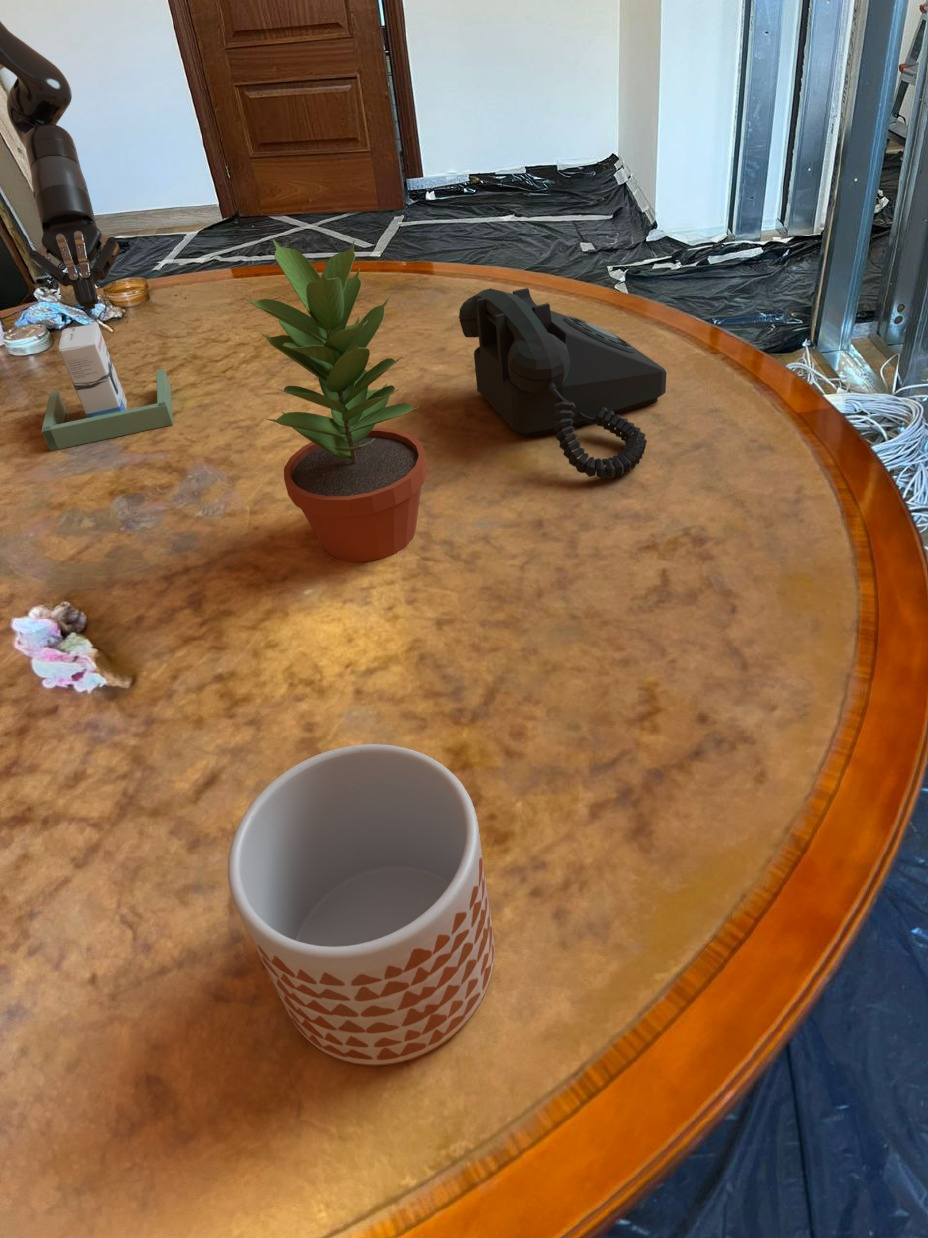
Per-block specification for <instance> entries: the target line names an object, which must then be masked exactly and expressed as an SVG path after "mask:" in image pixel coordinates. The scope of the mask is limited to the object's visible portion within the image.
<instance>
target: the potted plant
mask: <svg viewBox="0 0 928 1238" xmlns="http://www.w3.org/2000/svg"><path fill="white" fill-rule="evenodd" d="M271 240H272V242H273V245H274V248H275V251H274V253H273V254H274V259H275V261H276V263H277V265H278V266H279V267H280V269H281V271H282V272H283V274H284V276H285V277H286V279H287V280H288V282H289V284H290V285H291V287H292V288H293V290H294V292H295V293H296V295H297V296H298V298H299V300H300V302H301V303H302V305H303V306H304V308H305V309H306V312H307V313H308V314H307V313H305V312H303V311H301V310H299V309H298V308H296V307H295V306H291V305H290V304H288V303H284V302H282V301H279V300H275V299H271V298H262V299H259V300H255V301H254V300H251V299H248V298H247V297H243V299H244V300H246V301H247V302H249V303H250V304H252V305H253V306H254V307H256V308H258V309H259V310H261V311H263V312H265V313H267V314H269V315H270V316H271V317H274V318H276V319H278V323H279V325H280V327H281V328H282V329H283V330H284V331H285V333H286V334H287V335H286V334H281V335H276V336H271V337H270V336H268V335H267V334H265V333H262V332H259V334H261V335H262V336H263V337H264V338H265V339H266V340H267V341H268V343H269V345H271V346H272V347H274V348H275V349H277V350H278V351H280V353H282V354H283V355H285V356H286V357H288V358H289V359H291V360H292V361H294V362H295V363H296V364H297V365H299V366H301V367H302V368H304V369H305V370H307V371H308V372H309V373H311V374H312V375H314V376H315V377H317V379H318V383H319V386H320V390H321V392H322V393H320V392H317V391H314V390H312V389H309V388H306V387H302V386H298V385H287V386H285V387H284V388H283V390H282V389H279V388H276V390H278V391H280V392H282V393H286V394H289V395H291V396H294V397H297V398H299V399H302V400H304V401H308V402H311V403H313V404H316V405H319V406H321V407H324V408H326V409H329V410H330V413H331V416H332V417H329V416H326V415H322V414H317V413H311V412H307V411H306V412H305V411H290V412H289V411H288V412H283V411H281V413H282V414H281V415H280V416H279V417H278V418H277V419H275V418H274V419H273V418H266V420H268V421H271V422H274V423H276V424H279V425H281V426H285V427H289V428H292V429H293V430H295V432H297V433H298V434H300V435H301V436H303V437H304V438H306V439H307V440H309V441H310V442H309V443H307V444H305V445H303V446H301V447H300V448H299V449H298V450H297V451H295V453H293V454H292V455H291V456H290V457H289V459H288V460H287V462H286V464H285V466H284V467H283V481H284V484H285V488H286V492H287V495H288V497H289V499H290V501H291V502H292V503H293V504H294V505H295V506H296V507H297V508H299V509H300V510H301V512H302V513H303V515H304V517H305V518H306V520H307V521H308V523H309V524H310V527H311V528H312V530H313V531H314V533H315V535H316V536H317V538H318V540H319V542H320V544H321V545H322V547H323V548H324V550H325V551H326V552H327V554H328V555H331V556H332V557H334V558H336V559H338V560H341V561H346V562H350V563H352V562H353V563H354V562H355V563H366V562H367V563H368V562H372V561H377V560H378V561H379V560H381V559H384V558H387V557H390V556H393V555H395V554H397V553H398V552H400V551H402V550H403V549H404V548H406V547H407V546H408V545H409V544H410V543H411V541H413V539H414V536H415V534H416V529H417V523H418V516H419V509H420V508H419V507H420V501H421V494H422V488H423V487H422V486H423V485H424V484H425V481H426V478H427V476H428V473H429V471H428V464H427V456H426V453H425V449H424V445H423V443H422V442H420V440H418V439H417V438H416V437H415V436H414V435H412V434H409V433H406V432H404V431H401V430H399V429H393V428H387V427H386V428H385V427H375V426H376V425H377V424H380V423H383V422H386V421H389V420H392V419H394V418H399V417H400V416H401V417H402V416H403V415H407V414H408V413H410V412H413V411H415V410H417V409H420V408H421V406H417V407H413V406H412V405H411V404H410V403H408V402H400V403H395V404H391V405H389V406H388V403H389V401H390V399H391V395H393V394H395V393H396V392H397V391H399V390H400V389H398V388H397V389H396V386H394V385H393V384H391V385H388V381H387V382H386V383H385V384H384V385H383V386H382V387H381V388H377V389H371V390H369V386H370V385H372V384H373V383H374V382H375V381H376V380H377V379H378V378H380V377H381V376H382V375H384V374H385V373H386V372H387V371H388V370H389V369H391V368H392V367H393V366H394V365H395V364H396V363H397V362H399V361H400V360H401V359H402V358H403V356H400V357H399V358H397V360H395V359H394V358H391V357H390V358H385V359H383V360H381V361H379V362H378V363H377V364H376V365H374V366H373V367H372V368H370V369H369V370H366V369H367V368H366V367H367V365H368V363H369V358H370V355H371V352H370V349H369V348H367V347H368V345H369V344H370V342H371V341H372V339H373V338H374V337H375V335H376V333H377V331H378V330H379V328H380V326H381V324H382V323H383V320H384V318H385V312H386V305H387V304H388V302H389V300H390V299H391V296H389V297H388V298H387V299H386V300H385V301H384V302H383V304H381V305H377V306H374V307H373V308H372V309H370V310H369V311H368V312H367V314H366V315H365V316H364V317H363V318H362V319H361V320H360V315H358V316H357V319H356V320H355V322H354V323H353V324H350V325H348V322H349V320H350V317H351V315H352V311H353V309H354V306H355V304H356V301H357V299H358V296H359V293H360V291H361V288H362V281H361V279H360V270H361V268H360V267H359V269H358V270H357V272H356V273H355V274H354V276H353V277H350V274H351V271H352V267H353V265H354V262H355V259H356V253H355V251H354V250H355V249H354V248H355V242H356V241H355V239H354V240H353V242H352V243H351V245H350V247H349V249H348V250H344V251H340V252H338V253H336V254H334V255H332V256H331V257H330V258H329V259H328V261H327V263H326V264H325V266H324V269H323V272H321V276H320V274H319V273H318V271H317V269H316V268H315V266H314V265H313V264H312V263H311V261H310V260H309V259H308V258H307V257H306V256H305V255H304V254H303V253H302V252H301V251H299V250H297V249H295V248H291V247H283V246H280V245H279V244H278V242H277V241H275V239H274V238H273V237H271Z"/></svg>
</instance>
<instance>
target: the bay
mask: <svg viewBox="0 0 928 1238" xmlns="http://www.w3.org/2000/svg"><path fill="white" fill-rule="evenodd" d="M156 400H157V401H156V403H153V404H147V405H144V406H138V407H134V408H129V409H127V410H124V411H119V412H114V413H109V414H105V415H100V416H95V417H90V418H87V417H85V418H81V419H77V420H71V421H67V422H65V418H66V414H67V407H66V405H65V402H64V401H63V398H62V396H61V393H60V390H54V391H50V392H49V394H48V400H47V403H46V409H45V413H44V417H43V423H42V427H41V431H40V432H41V433H42V436H43V438H44V440H45V442H46V445H47V447H48V450H49V451H50V452H53V451H58V450H62V449H67V448H72V447H76V446H81V445H87V444H90V443H94V442H99V441H104V440H109V439H114V438H118V437H123V436H127V435H132V434H136V433H140V432H146V431H149V430H150V431H151V430H155V429H160V428H164V427H170V426H173V425H174V419H173V418H174V417H173V416H174V415H173V397H172V386H171V383H170V380H169V377H168V374H167V371H166V369H165V368H162V369H161V368H160V369H157V370H156Z"/></svg>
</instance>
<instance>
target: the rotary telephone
mask: <svg viewBox="0 0 928 1238" xmlns="http://www.w3.org/2000/svg"><path fill="white" fill-rule="evenodd" d="M530 292H531V291H530V288H528V287H525V288H521V289H516V290H513V291H512V293H511V292H506V291H503V290H498V289H495V288H486V289H483V290H481V291H479V292H478V293H476V294H474V295H473V296H471V297H468V298H467V299H466V300H465V301H464V302H462V305H461V306H460V307H459V311H458V313H459V315H458V320H459V324H460V327H461V331H462V334H463V336H464V337H465V338H471V339H473V338H478V347H477V348H476V349H474V350H473V356H474V357H473V359H474V370H475V381H476V390H477V392H478V393H479V394H480V395H481V396H482V397H483V399H484V400H486V401H487V403H488V404H489V405H490V406H491V407H492V408H493V409H494V410H495V411H496V413H497V414H499V416H500V417H501V418H502V419H503V420H504V421H505V422H506V424H508V425H509V426H510V427H511V428H512V430H514V431H515V432H516V433H517V434H518V435H520V436H523V437H538V436H543V435H548V434H549V435H550V434H554V433H556V435H555V440H557V441H558V442H559V446H558V447H559V448H560V449H561V450H562V451H563V456H564V457H565V458H566V459H568V464H569V465H571V466H572V467H573V468H575V469H576V471H577V472H578V473H581V474H585V475H586V476H588V478H591V477H595V476H596V477H597V478H599V479H603V478H605V477H607V478H609V479H613V478H614V477H615V476H616V477H622V476H623V475H624V473H630V472H631V469H636V465H637V464H640V461H641V459H642V458H643V455H644V454H645V450H646V446H647V439H645V437H646V433H644V432H642V431H641V427H637V426H635V423H634V422H629V420H628V419H627V418H622V416H621V414H622V413H625V412H628V411H631V410H635V409H638V408H641V407H644V406H648V405H651V404H654V403H657V402H658V401H659V400H658V399H659V398H660V397H661V396H664V394H666V391H667V390H666V388H667V370H666V368H664V367H663V366H661V365H660V364H658V363H657V362H655V361H654V360H653V359H651V358H650V357H648V355H645V354H644V353H643V352H641V351H640V350H638V349H637V348H635V347H634V346H633V345H632V344H630V343H629V342H628V341H626V340H625V339H623V338H621V337H620V336H619V335H617V334H614V333H613V332H610V331H608V330H607V329H605V328H603V327H600V326H598V325H596V324H594V323H591V322H588V321H586V320H583V319H582V318H581V319H580V318H577V317H575V316H571V315H565V314H561V313H559V312H557V311H554V310H551V304H550V303H549V302H547V303H541V304H536V303H535V302H534V300H533V298H532V296H531V293H530ZM586 424H596V426H598V427H602V428H603V429H604V430H607V431H609V433H610V434H614V435H615V437H616V438H620V440H621V441H624V444H625V445H624V446H623V449H621V450H620V452H619V453H617V455H613V457H608V458H602V459H601V458H599V457H596V458H595V457H594V456H591V457H590V454H589V453H588V452H585V451H586V449H585V448H584V447H581V445H582V442H581V441H579V440H578V439H577V438H578V434H577V433H575V430H576V427H580V426H583V425H586Z"/></svg>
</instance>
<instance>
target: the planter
mask: <svg viewBox="0 0 928 1238" xmlns="http://www.w3.org/2000/svg"><path fill="white" fill-rule="evenodd" d="M485 870H486V869H485V862H484V856H483V848H482V842H481V836H480V827H479V822H478V816H477V813H476V809H475V807H474V804H473V801H472V799H471V797H470V794H469V793H468V791H467V789H466V788H465V786H464V785H463V783H462V782H461V781H460V780H459V778H458V777H457V776H456V775H455V774H454V773H453V772H452V771H451V770H450V769H448V768H447V767H446V766H445V765H443V764H442V763H440V762H439V761H437V760H436V759H434V758H432V757H431V756H429V755H426V754H425V753H422V752H419V751H417V750H414V749H410V748H407V747H404V746H399V745H391V744H381V743H380V744H379V743H365V744H363V743H362V744H355V745H348V746H343V747H337V748H334V749H330V750H327V751H324V752H322V753H319V754H316V755H314V756H312V757H309V758H307V759H305V760H303V761H301V762H299V763H297V764H295V765H293V766H292V767H291V768H289V769H287V770H286V771H285V772H283V773H282V774H281V775H279V776H277V777H276V778H275V779H273V780H272V782H270V783H269V784H268V785H267V786H266V787H265V788H263V790H262V791H261V792H260V793H259V794H258V795H257V797H256V798H255V799H253V801H252V803H251V804H250V805H249V807H248V808H247V809H246V811H245V813H244V814H243V816H242V817H241V819H240V821H239V823H238V825H237V827H236V830H235V832H234V834H233V837H232V840H231V844H230V848H229V853H228V860H227V882H228V889H229V892H230V895H231V899H232V902H233V904H234V907H235V909H236V911H237V913H238V915H239V917H240V920H241V922H242V924H243V926H244V927H245V930H246V932H247V934H248V936H249V938H250V940H251V941H252V944H253V946H254V948H255V950H256V952H257V954H258V956H259V959H260V961H261V962H262V964H263V966H264V968H265V970H266V972H267V974H268V976H269V978H270V981H271V983H272V985H273V987H274V988H275V991H276V993H277V995H278V997H279V999H280V1001H281V1003H282V1004H283V1007H284V1009H285V1011H286V1013H287V1015H288V1016H289V1018H290V1020H291V1022H292V1023H293V1025H294V1027H295V1028H296V1029H297V1031H299V1033H300V1034H301V1035H302V1036H303V1037H304V1038H305V1039H306V1040H307V1042H309V1043H310V1044H311V1045H312V1046H314V1047H315V1048H317V1049H318V1050H319V1051H321V1052H323V1053H324V1054H326V1055H328V1056H330V1057H332V1058H334V1059H337V1060H339V1061H342V1062H346V1063H349V1064H353V1065H358V1066H359V1065H360V1066H371V1067H376V1066H377V1067H379V1066H391V1065H397V1064H401V1063H404V1062H408V1061H412V1060H415V1059H417V1058H420V1057H422V1056H424V1055H427V1054H428V1053H430V1052H432V1051H434V1050H436V1049H437V1048H439V1047H441V1046H442V1045H444V1044H445V1043H446V1042H447V1041H449V1040H450V1039H452V1038H453V1037H454V1036H455V1035H456V1034H457V1033H458V1032H460V1030H461V1029H462V1028H463V1027H464V1026H465V1025H466V1024H467V1023H468V1021H470V1019H471V1018H472V1017H473V1016H474V1014H475V1013H476V1012H477V1010H478V1009H479V1006H480V1005H481V1003H482V1001H483V1000H484V997H485V995H486V993H487V990H488V988H489V986H490V982H491V979H492V977H493V970H494V965H495V955H496V943H495V933H494V925H493V919H492V911H491V904H490V899H489V898H490V897H489V891H488V890H489V889H488V885H487V883H488V882H487V878H486V877H487V876H486V871H485Z"/></svg>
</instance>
